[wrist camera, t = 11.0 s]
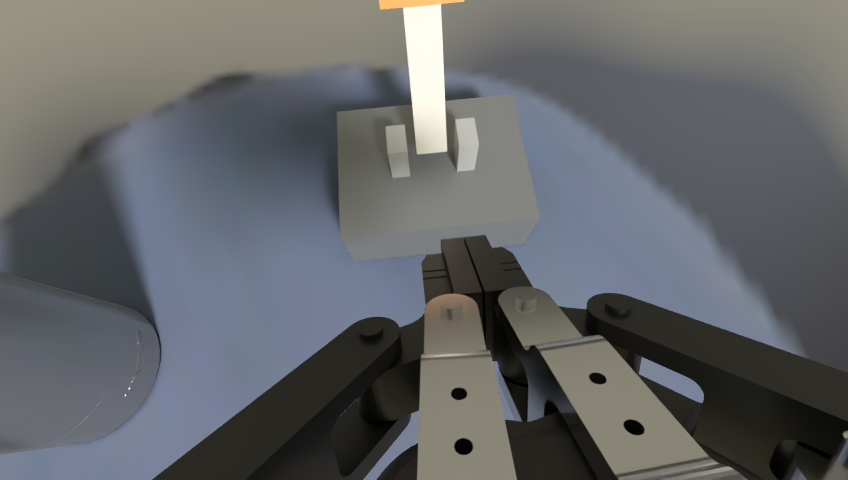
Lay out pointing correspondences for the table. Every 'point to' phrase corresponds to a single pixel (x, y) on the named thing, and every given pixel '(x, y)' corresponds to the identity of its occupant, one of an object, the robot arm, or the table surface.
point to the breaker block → (433, 180)
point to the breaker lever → (425, 70)
